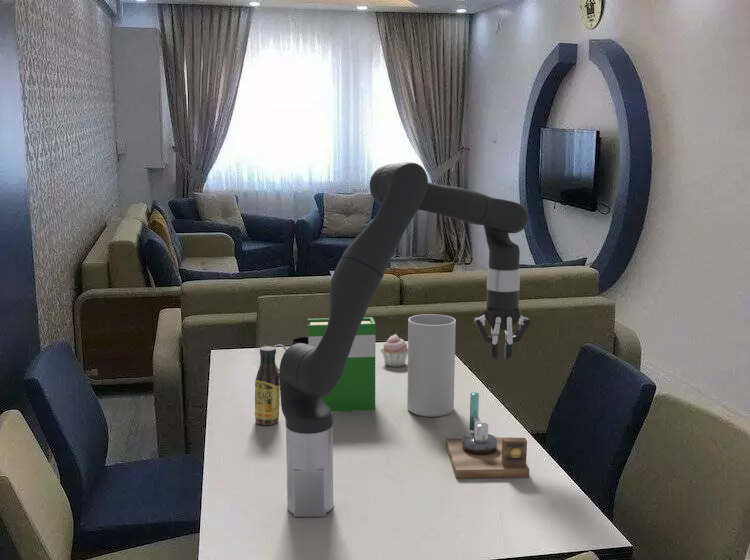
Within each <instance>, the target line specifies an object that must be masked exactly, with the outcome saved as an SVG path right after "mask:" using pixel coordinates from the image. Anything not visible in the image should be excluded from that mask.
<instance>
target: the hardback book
mask: <svg viewBox="0 0 750 560" xmlns="http://www.w3.org/2000/svg"><path fill="white" fill-rule="evenodd" d="M328 321H329V317H327V318H325V317H324V318H323V317H322V318H307V337H308V345H312V346H315V347H317V346H318V345H319V343H320V341H321V339H322V337H323V335H324V332H325V330H326V328H327V325H328ZM376 324H377V323H376V322H375V320H374V318H373V316H372V317H370V316H369V317H365V316H364V318H363V320H362V322H361V325H360V327H359V329H358V331H357V334H356V336H355V339H354V342H353V344H352V347H351V350H350V353H349V356H348V359H347V361H346V364H345V367H344V370H343V372H342V375H341V377H340V380H339V382H338V383H337V385H336V387H335V388H334V389H333V391H332V392H331V393H330V394H328V395H327V396H325V397H321V398H322V400H323V401H324V403H325V404H326V405H327V406H328V407H329V408H330V409H331V411H332V413H337V412H338V413H339V412H340V413H341V412H342V413H344V412H363V411H364V412H366V411H367V412H368V411H372V412H373V411H376V335H377V334H376V326H377V325H376Z"/></svg>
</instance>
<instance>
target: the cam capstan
mask: <svg viewBox="0 0 750 560" xmlns="http://www.w3.org/2000/svg"><path fill="white" fill-rule="evenodd" d="M469 396H470V397H469V398H470V401H469V403H470V404H469V407H470V408H469V431H472V432H469V433H466V434H464V435H463V436H462V437H461V438H462V448H463V449H464V450H465V451H467V452H470V453H474V454H489V453H493V452H495V451H496V450H497V438H496V436H494V435H492V434H490V433H489V423H485V422H482V421H481V420H480V417H479V403H480V401H479V400H480V393H478V392H476V391H475V392H470V395H469Z"/></svg>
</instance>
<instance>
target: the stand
mask: <svg viewBox="0 0 750 560" xmlns="http://www.w3.org/2000/svg"><path fill="white" fill-rule="evenodd" d="M495 437H496V436H495ZM496 438H497V450H496V451H495V452H493V453H489V454H474V453H470V452H467V451H465V450H464V449H463V448H462V437H445V448H446V452H447V455H448V457H449V460H450V461H449V462H450V465H451V468H452V470H453V474H454V477H455V479H456V480H457V479H512V478H513V479H514V478H515V479H523V478H525V479H527V478H530V467H529V466H528V464H527V453H528V451H527V450H528V440H527V439H526V437H511V436H508V437H507V436H506V437H505V436H504V437H501V436H499V437H496Z"/></svg>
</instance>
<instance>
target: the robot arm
mask: <svg viewBox="0 0 750 560" xmlns="http://www.w3.org/2000/svg"><path fill="white" fill-rule="evenodd" d="M369 191H370V193H371V196H372V198H373V199H374V201H375V202H376V203H377V204H379V205H380V207H379V209H378V211H377V214H376V215H375V216H374V218H373V219H372V221H371V222H370V223H369V224H368V225H367V226H366V227H365V228H364V229H363V230H362V231H361V232H360V233H359V234H358V235H357V236H356V237H355V238H354V239H353V240H352V241H351V242H350V243H349V245H348V246H347V248H345V250H344V252H343V253H342V255H341V257H340V260H339V261H338V263H337V266H336V267H335V269H334V271H333V274H332V276H331V279H330V282H329V294H328V295H329V299H328V300H329V316H328V318H329V321H328V325H327V328H326V330H325V332H324V335H323V337H322V339H321V341H320V343H319V345H318V346H317V347H315V346H312V345H308V344H304V343H297V344H294V345H292V344H291V345H290V346H289V347H288V348H286V351H285V350H284V352H283V354H282V357H281V359H280V363H279V383H280V396H279V397H280V407H281V412H282V414H283V416H284V419H285V437H286V438H285V443H286V445H285V449H286V451H285V453H286V457H285V458H286V490H287V491H286V494H287V495H286V499H287V501H286V502H287V507H286V508H287V509H288V511H289V512H290V513H292V514H293V517H295V518H298V517H300V518H302V517H304V518H307V517H308V518H309V517H316V518H317V517H326V514H327V513H329V512H330V511H332V509H333V508H334V442H333V441H334V421H333V419H334V415H333V412H332V411H331V409H330V408H329V407H328V406H327V405H326V404H325V403H324V401H323V400H322V398H321V397H325V396H327V395H328V394H330V393H331V392H332V391H333V389H334V388H335V387H336V385H337V383H338V382H339V380H340V377H341V375H342V372H343V370H344V367H345V364H346V361H347V359H348V356H349V353H350V350H351V347H352V344H353V342H354V339H355V336H356V334H357V331H358V329H359V327H360V325H361V322H362V320H363V318H364V317H365V315H366V314H367V311H368V308H369V306H370V304H371V302H372V300H373V298H374V297H375V294H376V293H377V290H378V289H379V286H380V284H381V282H382V280H383V278H384V275H385V273H386V270H387V268H388V266H389V264H390V262H391V260H392V258H393V256H394V255H395V254H394V253H395V252H396V250H397V248H398V245H399V243H400V241H401V239H402V238H403V235H404V233H405V232H406V230H407V228H408V226H409V224H410V223H411V222H412V220H413V218H414V217H415V215H416V213H417V212H418V210H419V211H425V212H429V213H433V214H436V215H441V216H442V217H443V216H444V217H447V218H451V219H454V220H457V221H461V222H465V223H468V224H471V225H477V226H483V228H484V233H485V238H486V243H487V246H488V251H489V252H488V253H489V254H488V272H487V277H486V305H485V306H486V307H485V311H483V312H484V313H483V315H481V316H479V317H474V318H473V321H474V324H475V326H476V327H477V329H478V331H479V333H480V334H481V337H482V338H483V340H484V342H485V343H489V344H490V351H489V355H490V357H491V358H492V359H493V360H498V355H499V353H498V349H499V348H498V347H499V346H498V339H499V334H500V331H502V330H504V334H505V342H504V345H503V346H504V349H503V350H504V352H503V357H504V358H503V359H505V360H509V359H510V358H511V357H512V351H513V350H512V349H513V348H512V347H513V344H514V343H519V342H520V341H521V340H522V338H523V337H524V334H525V332H526V331H527V329H528V327H529V326H530V324H531V320H530V319H529V317H527V316H523V315H522V313H521V312H520V309H519V308H520V287H521V286H520V283H521V276H520V256H521V253H520V252H521V251H520V250H521V249H520V247H519V245H518V244H517V243H516V242H514V241H512V240H511V239H510V235H509V234H517V233H520V232H522V231H524V230H525V228H526V227H527V225H528V223H529V214H528V210H527V209H526V208H525V207H524V205H522V204H520V203H519V202H515V201H512V200H507V199H501V198H496V197H492V196H489V195H486V194H484V193H481V192H479V191H475V190H471V189H468V188H463V187H457V186H451V185H444V184H438V183H431V182H429V179H428V174H427V171H426V170H425V169H424V167H423V166H422V165H420V164H418V163H416V162H408V161H407V162H405V161H404V162H395V163H390V164H389V163H388V164H385V165H382V166H381V167H379V168H377V169H375V171H374V172H373V173H372V175H371V177H370V180H369ZM486 321H487V323H488V324H489V326H491V327H490V328H491V329H490V335H488V333H487V331H486V329H485V328H484V327H485V326H486ZM517 322H518V324H519V325H518V327H517V329H516V331H515V332H514V334H513V327H514V326H515V325H516V324H517Z"/></svg>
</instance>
